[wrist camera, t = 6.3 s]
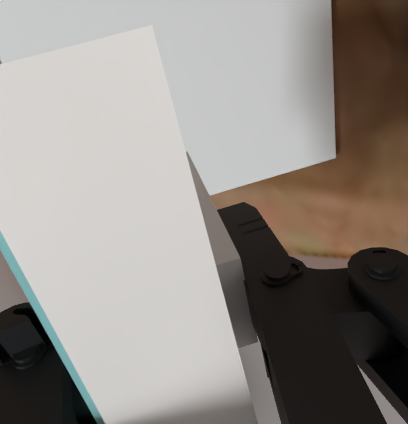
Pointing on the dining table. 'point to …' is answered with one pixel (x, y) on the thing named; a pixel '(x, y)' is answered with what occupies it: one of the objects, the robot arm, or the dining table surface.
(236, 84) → the mat
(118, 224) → the tile
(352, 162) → the dining table surface
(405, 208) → the dining table surface
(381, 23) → the dining table surface
